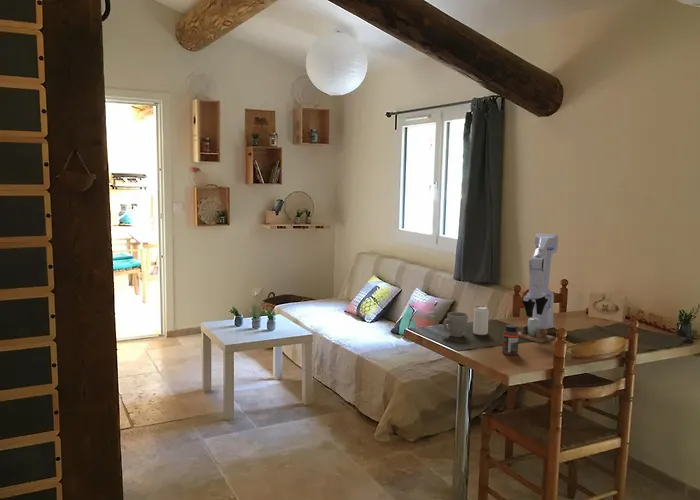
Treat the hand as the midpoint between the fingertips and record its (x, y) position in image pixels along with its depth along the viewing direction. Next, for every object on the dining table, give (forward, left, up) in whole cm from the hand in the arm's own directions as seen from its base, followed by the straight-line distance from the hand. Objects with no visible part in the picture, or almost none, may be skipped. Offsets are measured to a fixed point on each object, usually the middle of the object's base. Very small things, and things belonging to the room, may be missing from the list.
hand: (534, 315), depth 264 cm
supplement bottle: (+29, +9, -10) cm, 32 cm away
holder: (0, 0, -10) cm, 10 cm away
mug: (+27, -22, -10) cm, 36 cm away
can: (+14, -18, -10) cm, 25 cm away
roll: (0, 0, -9) cm, 9 cm away
